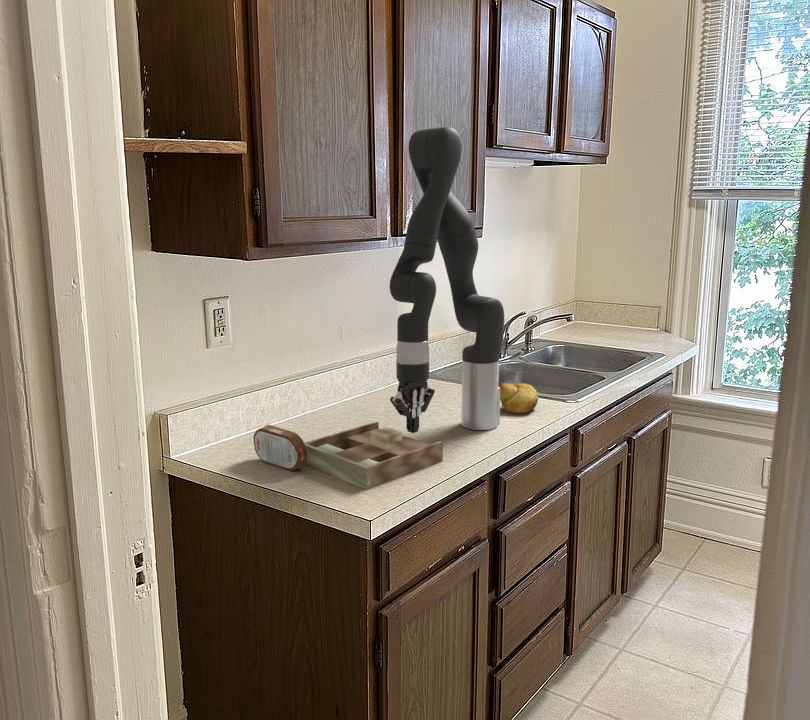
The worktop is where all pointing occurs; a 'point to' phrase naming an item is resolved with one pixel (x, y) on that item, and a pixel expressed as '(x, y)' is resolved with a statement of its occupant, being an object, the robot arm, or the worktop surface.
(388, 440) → the maple block
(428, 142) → the robot arm
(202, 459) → the worktop surface
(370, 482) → the trap box
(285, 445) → the tin
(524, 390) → the bread roll
